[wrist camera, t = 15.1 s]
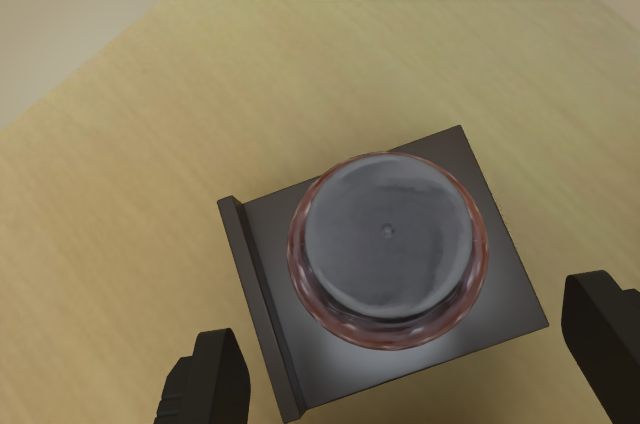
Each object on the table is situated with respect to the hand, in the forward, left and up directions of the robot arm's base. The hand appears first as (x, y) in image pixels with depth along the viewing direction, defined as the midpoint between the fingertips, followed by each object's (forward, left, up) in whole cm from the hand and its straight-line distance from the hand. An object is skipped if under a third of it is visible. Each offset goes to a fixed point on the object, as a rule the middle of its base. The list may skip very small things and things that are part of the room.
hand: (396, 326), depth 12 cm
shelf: (-1, -3, -16) cm, 17 cm away
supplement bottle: (-1, -2, -11) cm, 11 cm away
